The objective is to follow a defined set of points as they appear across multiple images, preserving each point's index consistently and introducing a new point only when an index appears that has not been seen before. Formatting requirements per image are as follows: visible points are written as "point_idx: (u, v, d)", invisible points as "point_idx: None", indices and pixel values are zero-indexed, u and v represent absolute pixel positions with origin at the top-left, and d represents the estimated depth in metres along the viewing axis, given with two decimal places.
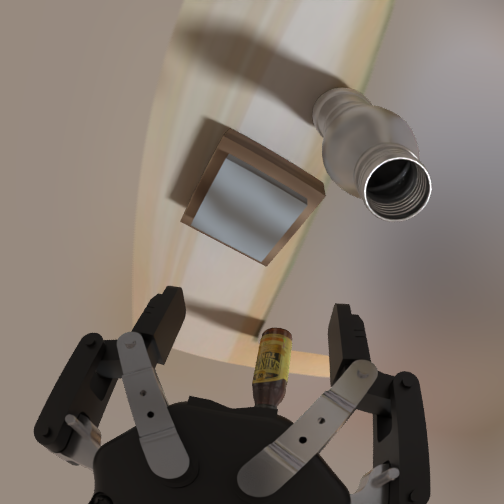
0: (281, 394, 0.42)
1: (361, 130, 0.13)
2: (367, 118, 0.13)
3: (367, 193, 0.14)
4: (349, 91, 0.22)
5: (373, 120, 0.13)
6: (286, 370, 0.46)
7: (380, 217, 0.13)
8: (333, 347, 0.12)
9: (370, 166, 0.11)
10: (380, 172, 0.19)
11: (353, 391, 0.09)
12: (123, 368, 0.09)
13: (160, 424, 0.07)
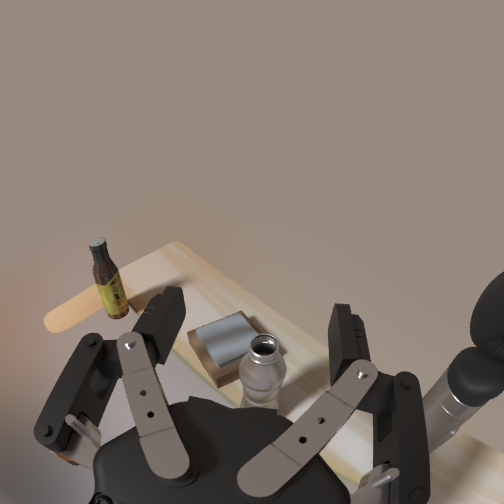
0: (100, 273, 0.54)
1: (281, 358, 0.34)
2: (283, 364, 0.34)
3: (259, 344, 0.34)
4: None
5: (283, 365, 0.33)
6: (105, 292, 0.56)
7: (254, 336, 0.33)
8: (333, 347, 0.12)
9: (276, 339, 0.33)
10: None
11: (353, 391, 0.09)
12: (123, 369, 0.09)
13: (160, 424, 0.07)
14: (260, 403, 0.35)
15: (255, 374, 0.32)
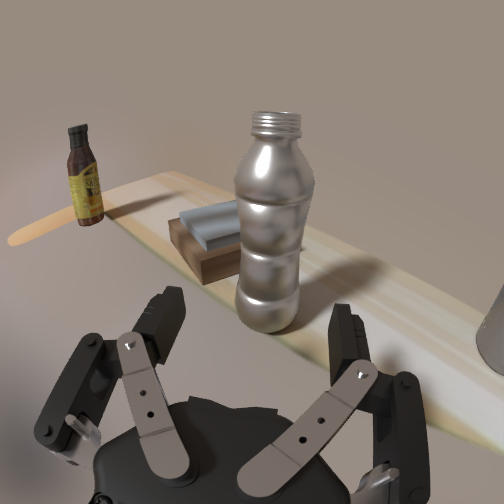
0: (74, 160, 0.41)
1: None
2: None
3: None
4: (297, 296, 0.25)
5: (308, 164, 0.20)
6: (76, 185, 0.43)
7: (261, 111, 0.20)
8: (333, 347, 0.12)
9: None
10: None
11: (353, 391, 0.09)
12: (123, 368, 0.09)
13: (160, 424, 0.07)
14: (271, 255, 0.22)
15: (262, 161, 0.18)
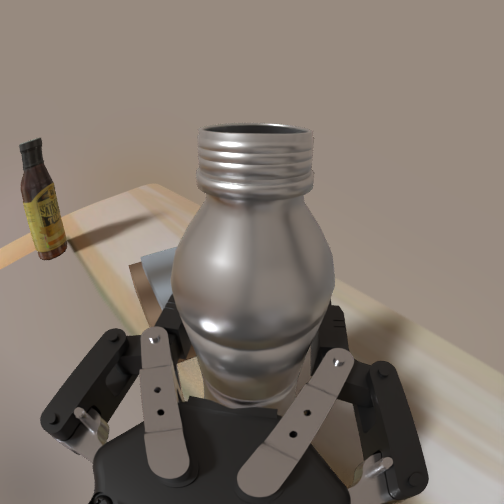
0: (26, 184, 0.30)
1: None
2: (328, 245, 0.10)
3: None
4: None
5: (326, 244, 0.10)
6: (31, 214, 0.32)
7: (224, 124, 0.09)
8: None
9: None
10: None
11: (333, 380, 0.09)
12: (142, 362, 0.10)
13: (160, 424, 0.07)
14: (246, 399, 0.11)
15: (218, 257, 0.08)
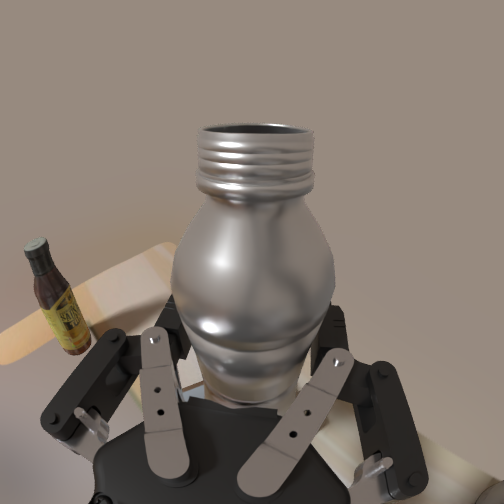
0: (40, 292, 0.30)
1: (317, 222, 0.10)
2: (328, 246, 0.10)
3: None
4: None
5: (326, 245, 0.09)
6: (51, 319, 0.32)
7: (224, 124, 0.09)
8: None
9: None
10: None
11: (332, 380, 0.09)
12: (142, 362, 0.10)
13: (160, 424, 0.07)
14: (247, 400, 0.11)
15: (218, 258, 0.08)
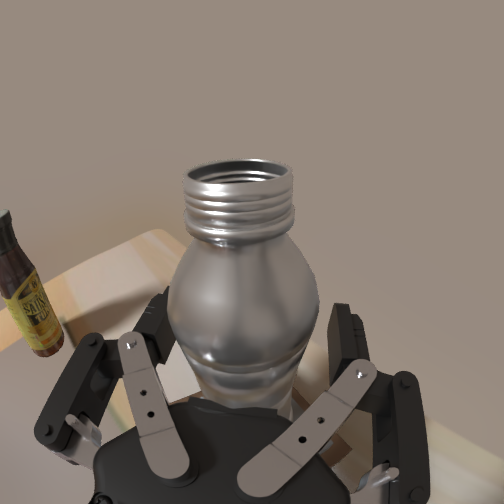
0: None
1: None
2: (311, 275, 0.11)
3: None
4: None
5: (309, 275, 0.10)
6: (13, 311, 0.23)
7: (210, 162, 0.10)
8: (332, 347, 0.12)
9: None
10: None
11: (352, 390, 0.09)
12: (123, 368, 0.09)
13: (160, 424, 0.07)
14: None
15: (206, 294, 0.09)
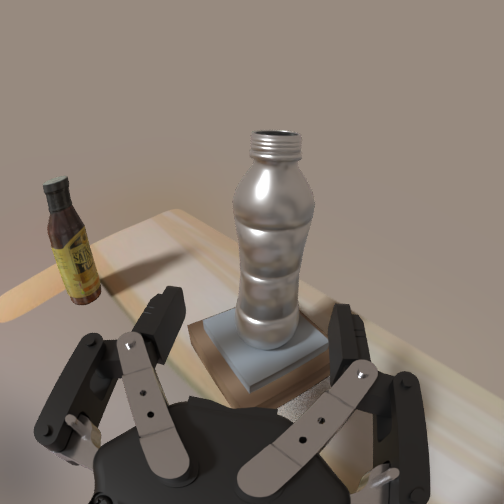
0: (55, 229, 0.31)
1: None
2: None
3: None
4: (296, 314, 0.25)
5: (309, 186, 0.20)
6: (62, 260, 0.33)
7: (260, 130, 0.19)
8: (333, 347, 0.12)
9: (295, 136, 0.19)
10: None
11: (353, 391, 0.09)
12: (123, 369, 0.09)
13: (160, 424, 0.07)
14: (270, 277, 0.22)
15: (261, 186, 0.18)
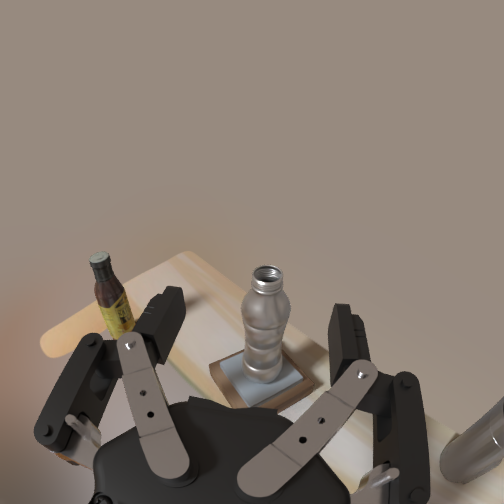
0: (103, 294, 0.45)
1: (285, 294, 0.34)
2: (288, 301, 0.34)
3: (262, 277, 0.34)
4: (280, 364, 0.39)
5: (287, 301, 0.34)
6: (109, 315, 0.47)
7: (258, 267, 0.33)
8: (333, 347, 0.12)
9: (280, 271, 0.33)
10: None
11: (353, 391, 0.09)
12: (123, 369, 0.09)
13: (160, 424, 0.07)
14: (263, 349, 0.35)
15: (258, 307, 0.32)
